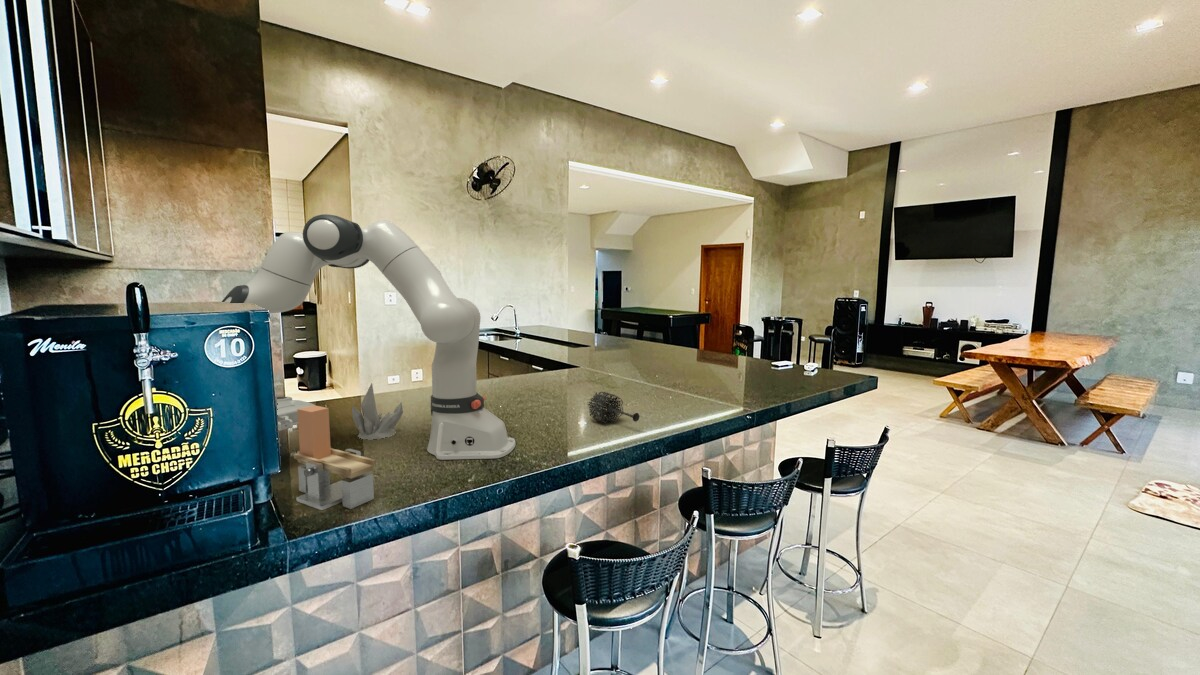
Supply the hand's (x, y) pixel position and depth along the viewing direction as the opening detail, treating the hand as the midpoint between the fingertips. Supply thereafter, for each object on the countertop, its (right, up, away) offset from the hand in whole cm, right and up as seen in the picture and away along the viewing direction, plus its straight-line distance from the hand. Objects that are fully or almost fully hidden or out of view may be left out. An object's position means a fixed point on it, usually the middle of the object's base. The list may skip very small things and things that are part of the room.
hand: (286, 425), depth 103 cm
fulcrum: (+14, -13, -6) cm, 20 cm away
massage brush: (+71, -8, +46) cm, 85 cm away
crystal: (+5, -9, +33) cm, 35 cm away
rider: (+9, -5, -4) cm, 11 cm away
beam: (+14, -6, -7) cm, 17 cm away
